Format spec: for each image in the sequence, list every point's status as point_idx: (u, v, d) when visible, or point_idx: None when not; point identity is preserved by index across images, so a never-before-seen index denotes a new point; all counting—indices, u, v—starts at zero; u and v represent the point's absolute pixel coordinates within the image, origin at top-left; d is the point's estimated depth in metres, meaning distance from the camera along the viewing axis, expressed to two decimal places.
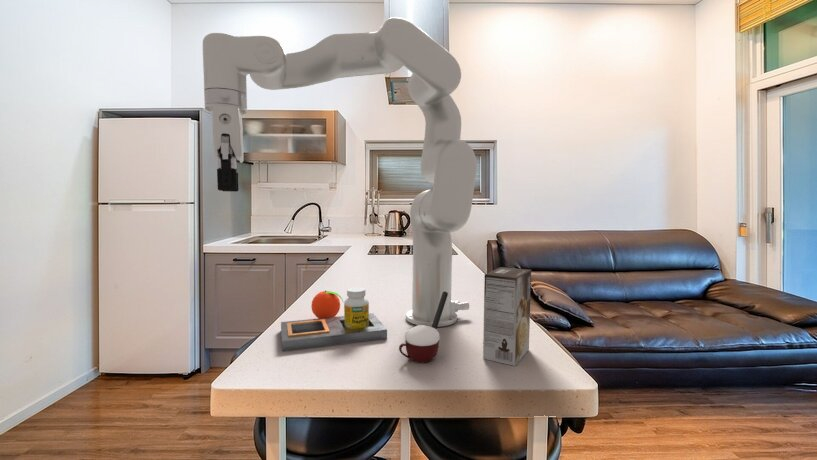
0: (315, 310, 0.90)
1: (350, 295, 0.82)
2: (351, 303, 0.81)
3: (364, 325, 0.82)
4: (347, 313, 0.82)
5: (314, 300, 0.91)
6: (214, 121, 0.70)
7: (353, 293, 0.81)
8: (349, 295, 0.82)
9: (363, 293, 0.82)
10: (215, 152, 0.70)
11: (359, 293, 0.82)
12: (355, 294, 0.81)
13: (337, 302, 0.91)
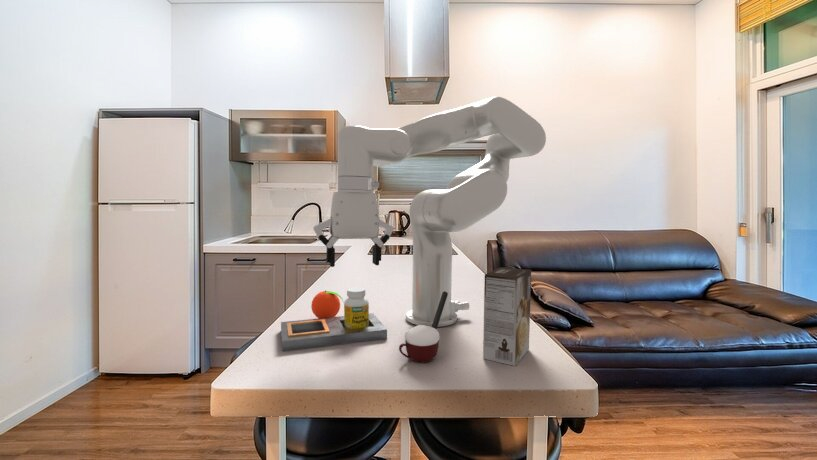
0: (316, 310, 0.90)
1: (350, 295, 0.82)
2: (351, 303, 0.81)
3: (364, 325, 0.82)
4: (347, 313, 0.82)
5: (314, 300, 0.91)
6: (377, 207, 0.82)
7: (353, 293, 0.81)
8: (349, 295, 0.82)
9: (363, 293, 0.82)
10: (377, 233, 0.82)
11: (359, 293, 0.82)
12: (355, 294, 0.81)
13: (337, 302, 0.91)
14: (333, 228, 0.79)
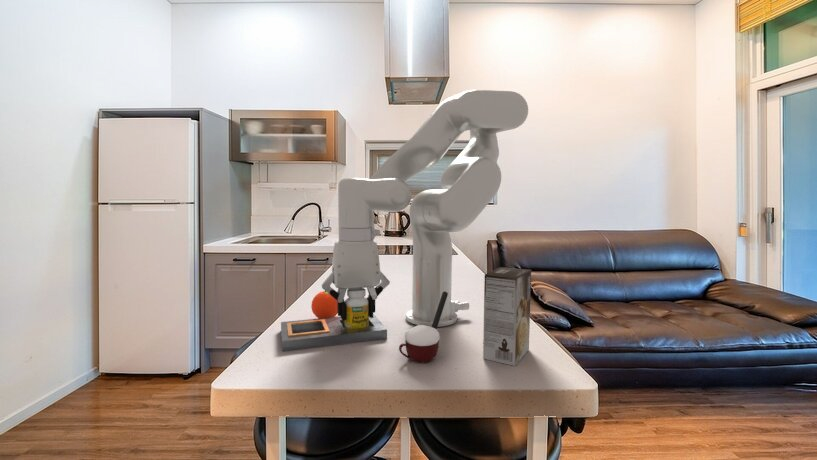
0: (316, 310, 0.90)
1: (350, 295, 0.82)
2: (351, 303, 0.81)
3: (364, 325, 0.82)
4: (347, 313, 0.82)
5: (314, 300, 0.91)
6: (378, 256, 0.83)
7: (353, 293, 0.81)
8: (349, 295, 0.82)
9: (363, 293, 0.82)
10: (379, 281, 0.83)
11: (359, 293, 0.82)
12: (355, 294, 0.81)
13: None
14: (335, 279, 0.80)
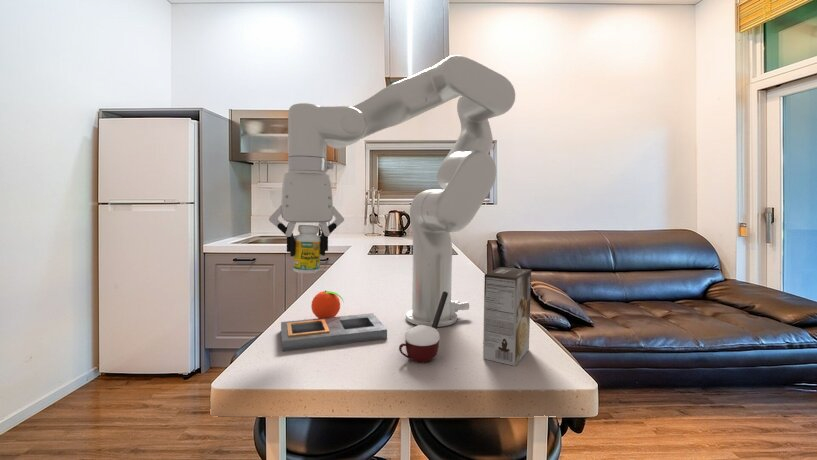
0: (316, 310, 0.90)
1: (300, 230, 0.77)
2: (301, 237, 0.77)
3: (313, 263, 0.77)
4: (296, 248, 0.77)
5: (314, 300, 0.91)
6: (330, 189, 0.78)
7: (304, 227, 0.77)
8: (300, 230, 0.77)
9: (315, 229, 0.78)
10: (331, 217, 0.78)
11: (310, 228, 0.77)
12: (306, 229, 0.77)
13: (337, 302, 0.91)
14: (283, 210, 0.75)
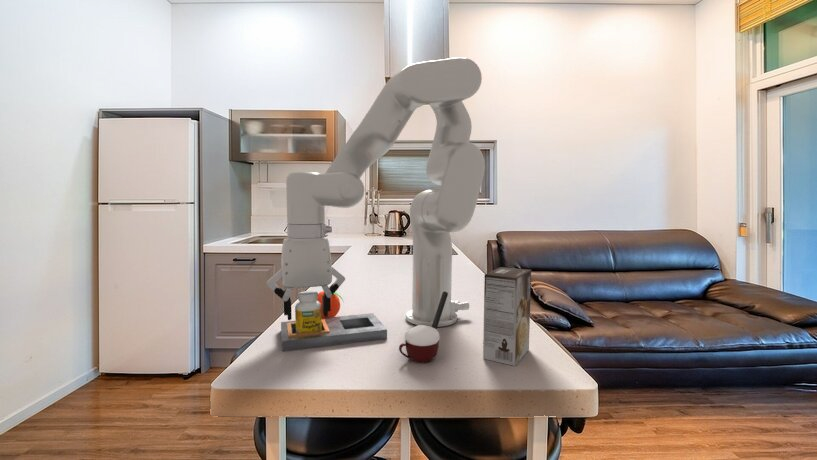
0: None
1: (300, 299, 0.78)
2: (301, 307, 0.78)
3: (315, 330, 0.79)
4: (297, 317, 0.78)
5: None
6: (329, 253, 0.79)
7: (303, 297, 0.78)
8: (300, 299, 0.78)
9: (314, 297, 0.79)
10: (330, 280, 0.79)
11: (310, 297, 0.78)
12: (305, 298, 0.78)
13: (337, 302, 0.91)
14: (283, 277, 0.76)
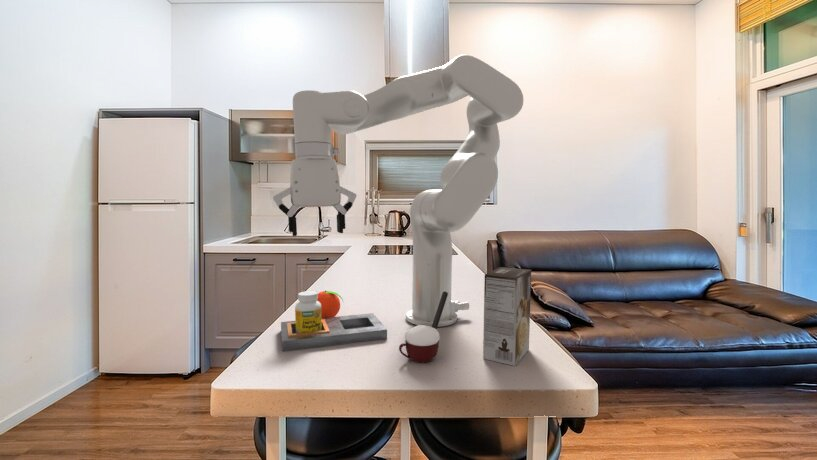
0: None
1: (300, 299, 0.78)
2: (301, 307, 0.78)
3: (315, 330, 0.79)
4: (297, 318, 0.78)
5: None
6: (337, 174, 0.80)
7: (303, 297, 0.78)
8: (299, 299, 0.78)
9: (314, 297, 0.79)
10: (339, 200, 0.81)
11: (310, 297, 0.78)
12: (305, 298, 0.78)
13: (337, 302, 0.91)
14: (293, 196, 0.78)
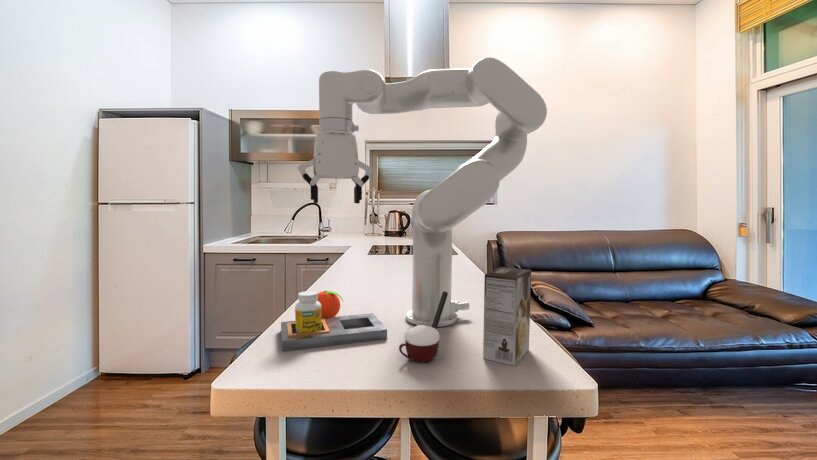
0: None
1: (300, 299, 0.78)
2: (301, 307, 0.78)
3: (315, 330, 0.79)
4: (297, 318, 0.78)
5: None
6: (356, 148, 0.88)
7: (303, 297, 0.78)
8: (299, 299, 0.78)
9: (314, 297, 0.79)
10: (357, 173, 0.89)
11: (310, 297, 0.78)
12: (305, 298, 0.78)
13: (337, 302, 0.91)
14: (316, 166, 0.85)
